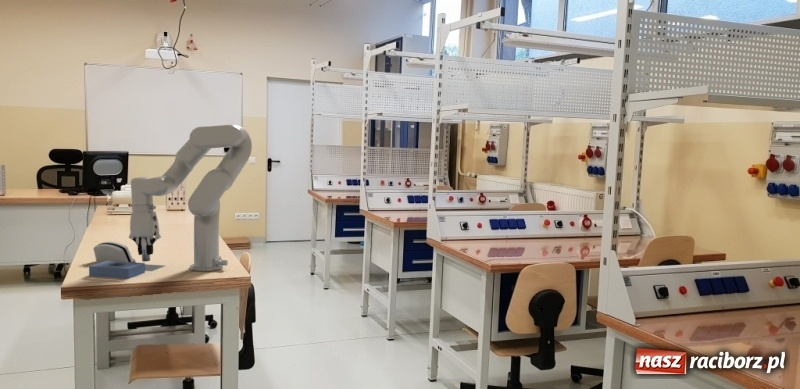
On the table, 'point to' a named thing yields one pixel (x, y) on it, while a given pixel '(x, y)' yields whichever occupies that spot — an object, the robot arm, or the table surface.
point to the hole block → (117, 269)
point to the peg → (144, 249)
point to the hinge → (112, 252)
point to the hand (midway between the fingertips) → (145, 253)
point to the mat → (152, 267)
